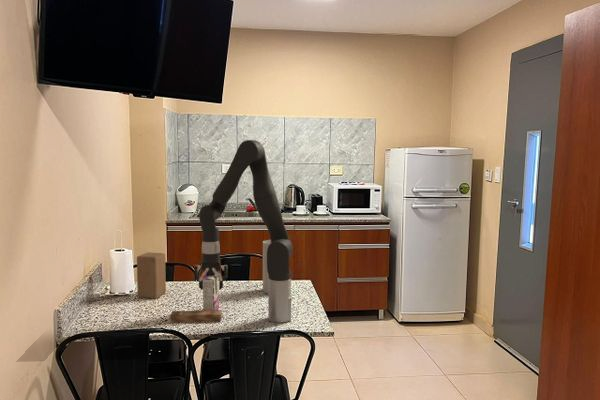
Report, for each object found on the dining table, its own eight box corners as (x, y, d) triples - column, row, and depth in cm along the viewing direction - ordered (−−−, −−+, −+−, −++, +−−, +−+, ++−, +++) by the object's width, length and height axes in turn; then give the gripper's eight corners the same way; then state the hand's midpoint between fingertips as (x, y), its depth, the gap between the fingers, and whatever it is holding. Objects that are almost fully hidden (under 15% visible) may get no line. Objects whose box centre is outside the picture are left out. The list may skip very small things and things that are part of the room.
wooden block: (156, 299, 217) (155, 257, 216) (136, 297, 219) (135, 256, 218) (166, 293, 227) (166, 252, 225) (147, 292, 229) (147, 251, 227)
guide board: (221, 317, 194) (221, 310, 194) (220, 321, 189) (220, 314, 189) (172, 318, 193) (172, 310, 192) (170, 322, 188) (170, 314, 187)
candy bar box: (207, 308, 206) (207, 271, 204) (219, 308, 206) (218, 271, 204) (202, 317, 195) (202, 278, 193) (214, 317, 195) (214, 278, 193)
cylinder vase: (257, 291, 232) (257, 241, 230) (274, 286, 241) (275, 238, 239) (275, 296, 224) (276, 245, 221) (292, 291, 233) (293, 241, 231)
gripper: (192, 253, 193) (192, 292, 195) (227, 253, 195) (227, 291, 196) (195, 249, 201) (195, 287, 202) (228, 249, 202) (228, 286, 204)
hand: (211, 289), depth 199 cm, fingers open, 7 cm apart
